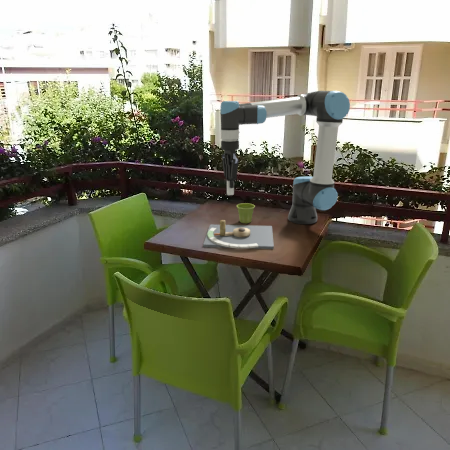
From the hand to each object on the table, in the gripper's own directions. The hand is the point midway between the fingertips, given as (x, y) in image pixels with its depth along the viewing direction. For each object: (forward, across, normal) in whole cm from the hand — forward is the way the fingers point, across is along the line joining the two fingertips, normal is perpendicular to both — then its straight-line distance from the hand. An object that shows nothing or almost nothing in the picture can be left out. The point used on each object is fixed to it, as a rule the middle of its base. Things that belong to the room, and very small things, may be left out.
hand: (230, 194), depth 169 cm
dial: (+21, +4, -3) cm, 21 cm away
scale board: (+22, +2, -5) cm, 23 cm away
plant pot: (+23, +22, -19) cm, 36 cm away
